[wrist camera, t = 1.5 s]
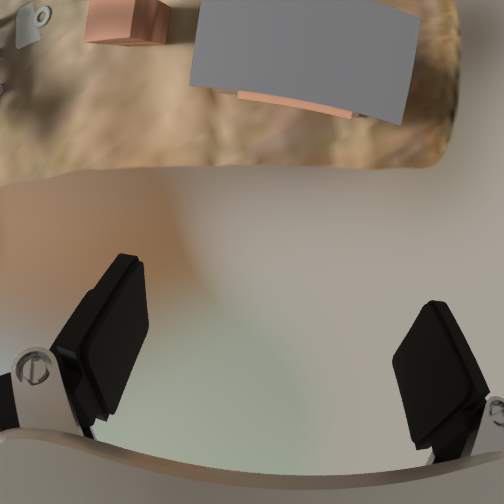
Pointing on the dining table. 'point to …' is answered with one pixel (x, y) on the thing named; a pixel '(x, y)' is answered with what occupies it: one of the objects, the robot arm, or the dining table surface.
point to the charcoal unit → (308, 54)
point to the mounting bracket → (29, 24)
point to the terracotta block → (127, 22)
